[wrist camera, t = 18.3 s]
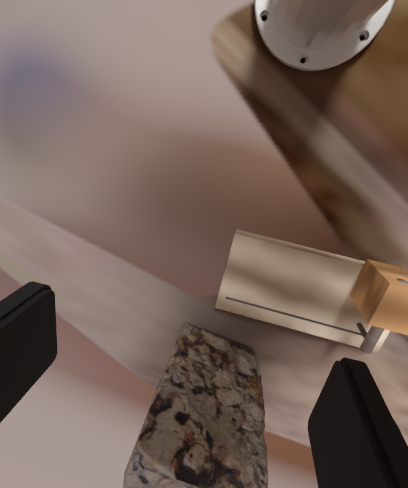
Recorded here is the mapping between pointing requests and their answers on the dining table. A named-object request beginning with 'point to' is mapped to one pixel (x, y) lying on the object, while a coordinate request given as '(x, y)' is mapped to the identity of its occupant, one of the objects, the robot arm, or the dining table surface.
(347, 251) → the dining table surface
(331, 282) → the birch board
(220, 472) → the stone block
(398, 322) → the marking gauge
